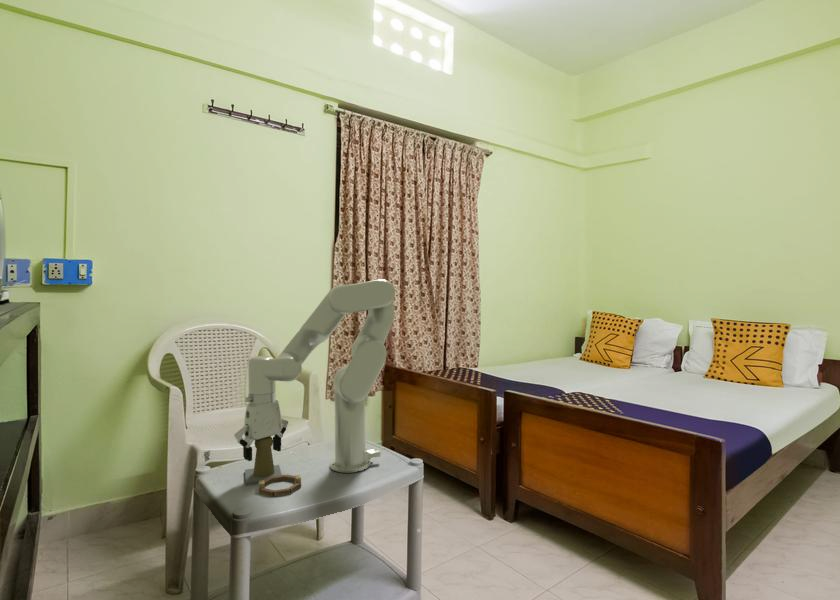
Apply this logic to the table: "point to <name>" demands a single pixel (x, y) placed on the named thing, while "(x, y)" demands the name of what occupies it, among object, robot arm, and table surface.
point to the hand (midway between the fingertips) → (262, 455)
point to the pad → (255, 480)
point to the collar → (282, 491)
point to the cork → (263, 458)
